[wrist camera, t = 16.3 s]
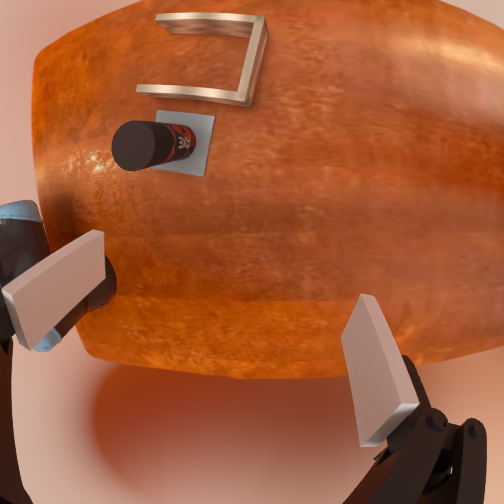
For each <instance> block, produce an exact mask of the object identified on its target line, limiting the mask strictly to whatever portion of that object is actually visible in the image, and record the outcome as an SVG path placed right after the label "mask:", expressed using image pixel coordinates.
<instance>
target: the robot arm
mask: <svg viewBox="0 0 504 504" xmlns="http://www.w3.org/2000/svg"><path fill="white" fill-rule="evenodd" d="M115 290H116V278H115V274H114V271H113V268H112V266H111V264H110V263H109V261H108V259H107V258H106V257H105V255H104V232H102V231H98V230H94V229H93V230H91V231H89V232H87V233H86V234H84V235H82V236H80V237H79V238H77V239H75V240H74V241H72V242H70V243H69V244H67V245H65V246H64V247H62V248H61V249H59V250H57V251H56V252H54V253H53V254H51V251H50V247H49V244H48V241H47V237H46V234H45V230H44V227H43V221H42V220H41V217H40V214H39V210H38V207H37V204H36V203H35V202H34V201H32V200H22V201H17V202H12V203H8V204H5V205H1V206H0V504H33V502H32V501H31V499H30V497H29V495H28V494H27V492H26V491H25V489H24V487H23V484H22V481H21V476H20V471H19V466H18V461H17V455H16V448H15V440H14V431H13V419H12V399H11V373H12V354H13V340H12V336H13V335H14V334H16V336H17V338H18V341H19V344H21V345H22V346H24V347H25V348H27V349H28V350H30V351H31V350H32V349H34V350H37V351H39V352H48V351H50V350H51V349H52V348H53V347H54V346H56V345H57V344H58V343H59V342H61V340H62V338H63V337H64V336H65V335H66V334H67V333H68V331H70V329H71V328H72V327H73V326H74V325H75V324H76V323H77V322H78V321H79V320H80V319H81V318H82V317H83V316H84V315H85V314H86V313H87V312H90V311H92V310H94V309H96V308H100V307H102V306H104V305H105V304H107V303H108V302H109V301H110V300H111V298H112V297H113V296H114V294H115ZM341 341H342V345H343V350H344V355H345V360H346V365H347V370H348V375H349V380H350V385H351V391H352V395H353V402H354V407H355V414H356V420H357V427H358V433H359V440H360V447H371V446H379V445H380V444H381V443H382V442H383V441H384V440H385V439H387V444H388V446H387V447H386V448H385V449H384V450H383V451H382V452H381V453H379V454H378V455H377V456H376V457H375V458H374V460H376V459H377V458H378V459H377V460H376V462H375V463H374V465H373V466H372V467H371V469H370V470H369V471H368V473H367V474H366V475H365V477H364V478H363V479H362V481H361V482H360V483H359V484H358V486H357V487H356V488H355V489H354V491H353V492H352V493H351V494H350V495H349V497H348V498H347V499H346V500H345V501H344V502H343V504H483V502H484V494H485V483H486V466H487V465H486V464H487V438H486V437H487V435H486V430H485V427H484V426H483V424H482V423H481V422H480V421H478V420H477V419H475V418H470V419H467V420H466V421H465V422H464V423H463V424H462V425H461V426H459V425H455V424H451V423H448V419H447V418H446V416H445V415H444V414H443V413H442V412H441V411H440V410H438V409H435V408H431V405H430V402H429V400H428V397H427V395H426V392H425V389H424V387H423V385H422V382H421V380H420V377H419V375H417V374H418V373H417V370H416V368H415V365H414V364H413V362H412V361H411V360H410V359H409V358H408V357H407V356H406V355H401V354H400V352H399V349H398V347H397V344H396V342H395V340H394V338H393V335H392V333H391V331H390V329H389V326H388V324H387V322H386V320H385V318H384V315H383V313H382V311H381V309H380V307H379V305H378V303H377V301H376V299H375V297H374V296H370V295H366V294H360V296H359V299H358V301H357V303H356V306H355V308H354V310H353V312H352V314H351V317H350V319H349V321H348V323H347V325H346V327H345V329H344V331H343V333H342V336H341ZM452 467H453V469H452V474H451V468H452Z"/></svg>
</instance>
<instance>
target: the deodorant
mask: <svg viewBox="0 0 504 504" xmlns="http://www.w3.org/2000/svg"><path fill="white" fill-rule="evenodd" d="M195 147H196V136H195V134H194V132H193V130H192V129H191V128H189V127H188V126H185V125H181V124H172V123H162V122H150V121H129V122H126V123H125V124H123V125H122V126H120V128H119V129H118V130H117V131H116V133H115V135H114V137H113V140H112V155H113V158H114V160H115V162H116V163H117V164H118V166H120V167H121V168H122V169H124V170H127V171H137V170H141V169H145V168H149V167H153V166H157V165H161V164H165V163H169V162H173V161H178V160H182V159H185V158H187V157H189V156H190V155H191V154H192V153H193V151H194V150H195Z"/></svg>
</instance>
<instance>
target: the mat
mask: <svg viewBox="0 0 504 504" xmlns="http://www.w3.org/2000/svg"><path fill="white" fill-rule="evenodd" d="M215 117H216V116H210V115H202V114H194V113H185V112H175V111H163V110H157V115H156V120H155V122H162V123H172V124H181V125H185V126H188V127H189V128H191V129H192V130H193V132H194V134H195V136H196V147H195V150H194V151H193V153H192V154H191V155H190V156H189V157H187V158H185V159H182V160H178V161H173V162H169V163H165V164H161V165H157V166H153V167H149V168H154V169H160V170H167V171H173V172H179V173H184V174H190V175H195V176H201V177H204V176H205V170H206V165H207V159H208V154H209V148H210V143H211V137H212V132H213V127H214V122H215Z"/></svg>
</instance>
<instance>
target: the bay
mask: <svg viewBox="0 0 504 504" xmlns="http://www.w3.org/2000/svg"><path fill="white" fill-rule="evenodd" d="M155 21H156V22H157V23H159V24H160V25H161V26H162V27H164V28H165V29H166V30H168V31H169V32H170V33H171V34H212V35H227V36H238V37H247V38H250V42H249V46H248V50H247V54H246V58H245V62H244V66H243V70H242V75H241V79H240V83H239V88H238V92H234V91H227V90H219V89H211V88H201V87H189V86H174V85H137V90H136V92H138V93H142V94H146V95H150V96H154V97H162V98H177V99H189V100H199V101H208V102H216V103H223V104H230V105H237V106H243V107H249V108H251V106H252V101H253V97H254V92H255V88H256V83H257V79H258V75H259V70H260V66H261V62H262V58H263V53H264V49H265V45H266V41H267V37H268V30H267V25H266V20H265V17H260V16H252V15H241V14H228V13H168V14H157V15H156V18H155Z"/></svg>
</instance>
